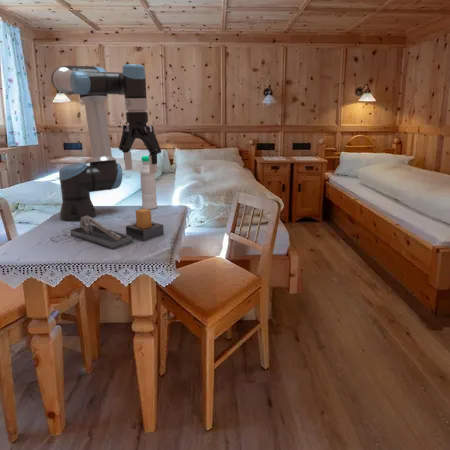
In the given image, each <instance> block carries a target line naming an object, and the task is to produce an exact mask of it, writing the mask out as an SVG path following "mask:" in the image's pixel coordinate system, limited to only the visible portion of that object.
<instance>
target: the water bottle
mask: <svg viewBox="0 0 450 450" xmlns="http://www.w3.org/2000/svg"><path fill="white" fill-rule="evenodd" d="M141 162H142V165H141V168H140V171H139V174H140V189H141V200H142V201H141V204H142V205H141V206H142V209H148V210H154V209H156V208H157V207H158V201H157V186H156V184H157V182H156V180H157V179H156V173H153V174H150V167H149V155H143V156H141Z"/></svg>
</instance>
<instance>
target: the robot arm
mask: <svg viewBox="0 0 450 450" xmlns="http://www.w3.org/2000/svg"><path fill="white" fill-rule="evenodd" d="M146 77H147V76H146V70H145V67H144V65H142V64H138V63H137V64H136V63H135V64H133V63H130V64H129V63H128V64H127V63H126V64H123V66H122V72H120V71H119V72H118V71H117V72H115V71H111V72H110V71H107V70H105V68H104V67H101V66H95V65H92V66H91V65H90V66H89V65H62V66H59V67H57V68H55V69H54V70H53V71H52V73H51V75H50V81H51V84H52V86H53V88H54V89H56V90H57V91H58V92H60V93H63V94H69V95H79V99H80V101H82V103H84V109H85V116H86V122H87V129H88V130H87V131H88V134H89V135H88V137H89V143H90V144H89V145H90V150H91V156H92V158H91V159H90V160H89V165H87V163H85V162H79V163H77V162H76V163H71V164H67V165H65V166H62V167H61V168H60V169H59V171H58V173H59V175H58V179H59V183H60V191H61V198H62V201H61V202H62V203H61V207H60V212H59V217H60V219H61V220H62V221H67V222H74V221H75V222H77V221H78V222H80V221H81V217H83V216H89V217H91V218H93V219H94V218H95V217H96V216H97V213H96V208H95V206H94V204H93V202H92V200H91V193H92V192H95V193H96V192H101V191H102V192H103V191H111V190H116V189H118V188H120V186H121V185H122V183H123V182H122V181H123V169H122V165H121V164H120V163H119V162H117V159H116V158H115V157H114V156H113V154H112V145H111V141H110V139H111V138H110V131H109V125H108V118H107V111H106V103H105V102H106V101H107V99H108V95H119V96H121V95H122V96H124V102H125V111H126V113H125V118H126V124H123V125H122V135H121V139H120V142H119V145H118V146H119V147H118V150H119V151H121V152H122V153H123V161H124V170H125V171H131V170H133V163H132V162H133V160H132V151H131V149H132V146H133V144H134V142H135V140H136V139H138V140H141V141H142V142H143V144H144V146H145V147H146V149H147V151H148V153H149V155H148V156H149V167H150V174H153V173H155V174H157V173H158V170H157V169H158V167H157V165H158V154H162V149H161V147H160V145H159V141H158V139H157V137H156V134H155V130H154V126H153V125H147V123H148V122H149V115H148V114H149V113H148V112H147V111H148V99H147V79H146Z"/></svg>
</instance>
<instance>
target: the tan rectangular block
mask: <svg viewBox="0 0 450 450" xmlns="http://www.w3.org/2000/svg"><path fill="white" fill-rule="evenodd" d="M135 219H136V221H135V222H136V223H137V227H139V228H143V229H144V228H148V227H151V226H152V222H153V221H152V209H144V208H141V209H137V210H135Z"/></svg>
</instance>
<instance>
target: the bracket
mask: <svg viewBox="0 0 450 450" xmlns="http://www.w3.org/2000/svg"><path fill="white" fill-rule="evenodd" d="M79 222H80V223H79V227H82V228H83V229H84V230H85V229H86V230H85V231H86V232H87V233H88V234H89V231H90V232H91V230H92V231H93V229H91V228H92V226H90V225H94V226H96V227H98V228H99V229H101V230H102V231H104V232H105V233H107V234H108V235H110V236H111V237H113V238H114V239H116V240H117V241H118V240H120V238H121V236H119V235H117V234H116V233H114V232H115V231H114V232H112V231H113V230H112V229H108V228H107V227H106V226H104V225H103V224H102V223H100V222H99V221H97V220H96V219H94V217H93V218H91V217H89V216H83V217H81V220H79ZM88 225H89V226H88ZM84 226H85V227H86V228H85V227H84ZM87 228H88V229H87ZM91 233H92V232H91ZM111 233H112V234H111ZM113 234H114V235H115V236H117V237H118V238H117V237H115V236H114V235H113Z"/></svg>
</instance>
